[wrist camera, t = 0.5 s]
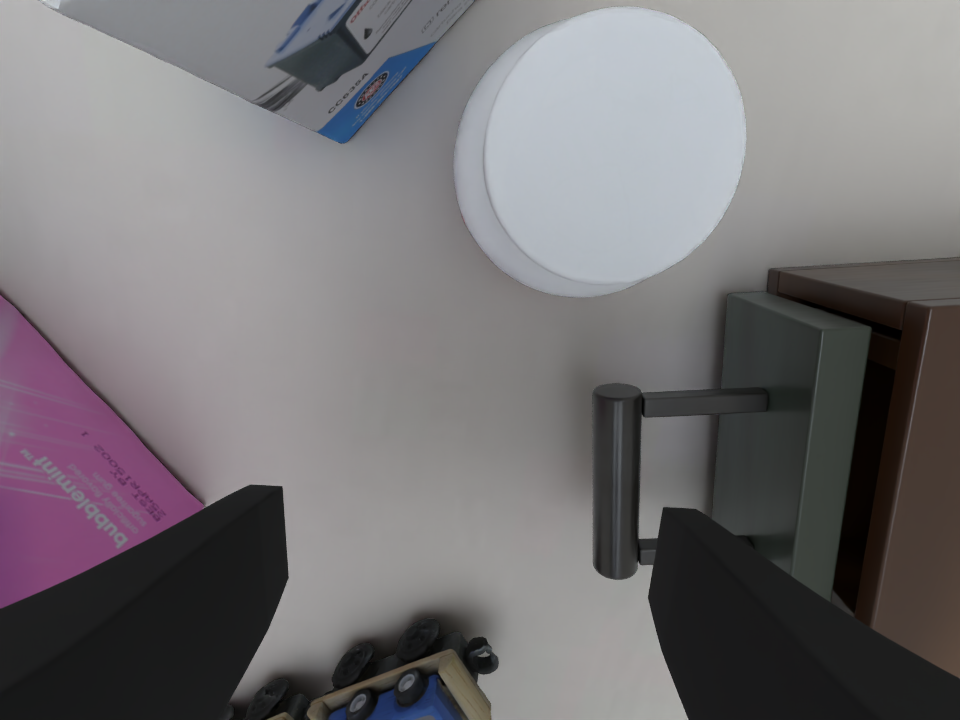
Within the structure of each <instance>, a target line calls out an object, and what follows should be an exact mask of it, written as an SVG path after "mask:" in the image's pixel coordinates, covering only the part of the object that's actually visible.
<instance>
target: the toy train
mask: <svg viewBox="0 0 960 720" xmlns="http://www.w3.org/2000/svg"><path fill="white" fill-rule="evenodd" d="M439 632H440V626H439V624H438V622H437V621H436V620H435V619H432V618H428V619H424V620H420V621H418V622H416V623H414V624H413V625H412V626H411V627H410V628H408V629H407V630H406V632H405V633H404V634H403V636H402V637H401V638H400V640H399V643H398V646H397V653H396V654H395V655H392V656H390V657H387V658H384V659H381V660H379V661H376V662H374V663H367V662H368V661H369V660H370V659H371V658H372V657H373V656H374V654H375V651H374V648H373V646H372V645H371V644H369V643H365V644H360V645H358V646H356V647H354V648H352V649H351V650H350V651H348V652H347V653H346V654H345V655H344V656H343V657H342V659H341V661H340V662H339V663H338V665H337V667H336V669H335V671H334V674H333V677H332V682H333V686H334V688H333V691H330V692H328V693H326V694H325V695H324V696H323V697H320V698H316V699H313V700H311V701H309V700H308V699H307V698H306V697H305V696H304V695H303V694H297V695H295V696H292V697H290V698H288V699H286V700H281V698H282V697H283V696H284V695H285V694H286V693H287V691H288V687H289V683H288V681H287V680H286V679H283V678H282V679H277V680H275V681H273V682H271V683H269V684H268V685H267V686H265V687H263V688H261V689H260V690H259V691H258V692H257V693H256V695H255V697H254V699H253V700H252V702H251V704H250V706H249V707H248V710H247V714H246V718H244V719H242V720H491V703H490V701H489V700H488V699H487V697H486V695H485V694H484V693H483V691H482V690H481V689H480V688H479V686H478V685H477V680H478V673H479V674H490V673H492V672H494V671H495V670H496V669H497V668H498V664H499V661H498V657H497V656H496V655H495V654H494V653H492V648H491V646H490V645H489V644H488V642H487V640H486V638H484V637H478V638H473V639H472V640H471V641H470V642H469V643H467V642H466V640H465V639H464V637H463V635H462V634H461V632H455V633H451V634H449V635H446V636H443V637H441V638H438V635H439ZM437 638H438V639H437ZM485 651H486V652H487V653H488V654H489V653H490V655H489V656H487V657H478V656H477V655H481V654H483V653H484V652H485ZM233 714H234V708H233V707H232V706H231V705H227V706H226V708H225V710H224V711H223V713H222V715H221V717H220V719H219V720H231V719H232V718H233Z"/></svg>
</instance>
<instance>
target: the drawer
mask: <svg viewBox="0 0 960 720" xmlns="http://www.w3.org/2000/svg"><path fill="white" fill-rule="evenodd" d="M901 335H902V330H899V329H896V328H892V327H889V326H886V325H883V324H880V323H876V322H873V321H870V320H867V319H864V318H860V317H857V316H854V315H851V314H848V313H844V312H841V311H838V310H835V309H832V308H812V307H809V306H806V305H803V304H800V303H797V302H794V301H791V300H788V299H785V298H782V297H779V296H776V295H772V294H769V293H766V292H763V291H761V292H743V293H730V294H728V299H727V313H726V327H725V342H724V356H723V370H722V384H721V389H707V390H687V391H667V392H647V393H642V392H641V390H640V389H639V388H637V387H635V386H632V385H628V384H620V383H612V384H604V385H600V386H598V387H596V388H595V389H594V390H593V392H592V468H593V566H594V568H595V569H596V571H597V572H598V573H599V574H601V575H602V576H604V577H607V578H610V579H615V580H622V579H627V578H630V577H631V576H633V575H634V574H635V573H636V571H637V569H638V561H639V563H640V565H654V559H655V553H656V547H657V541H658V538H652V539H639V503H640V464H641V426H642V415H643V417H645V418H650V417H671V416H691V415H712V414H719V426H718V441H717V455H716V469H715V483H714V497H713V511H712V520H714V521H715V522H717V523H718V524H720V525H721V526H722V527H724V528H725V529H727V530H728V531H730V532H731V533H732V534H734V535H735V536H736V537H738V538H739V539H741V540H742V541H743V542H745V543H746V544H747V545H749V546H750V547H752V548H753V549H754V550H756V551H757V552H758V553H760V554H761V555H763V556H764V557H765V558H767V559H768V560H770V561H771V562H772V563H774V564H775V565H777V566H778V567H779V568H781V569H782V570H784V571H785V572H786V573H788V574H789V575H791V576H792V577H794V578H795V579H796V580H798V581H799V582H801V583H802V584H804V585H805V586H807V587H808V588H810V589H811V590H813V591H814V592H816V593H817V594H819V595H820V596H822V597H823V598H825V599H826V600H828V601H829V602H831V603H832V604H834V605H835V606H837V607H839V608H840V609H842V610H843V611H845V612H846V613H848V614H849V615H851V616H852V617H854V615H855V609H856V603H857V597H858V591H859V585H860V579H861V573H862V567H863V561H864V555H865V549H866V543H867V537H868V531H869V525H870V519H871V513H872V508H873V502H874V496H875V490H876V484H877V478H878V472H879V466H880V460H881V454H882V448H883V442H884V436H885V430H886V424H887V418H888V412H889V406H890V400H891V394H892V388H893V383H894V377H895V371H896V365H897V359H898V353H899V347H900V341H901Z"/></svg>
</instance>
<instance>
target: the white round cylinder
mask: <svg viewBox="0 0 960 720" xmlns="http://www.w3.org/2000/svg"><path fill="white" fill-rule="evenodd" d="M745 150H746V117H745V112H744V106H743V101H742V97H741V93H740V90H739V88H738V85H737V82H736V80H735V77H734V75H733V73H732V72H731V70H730V68H729V66H728V65H727V63H726V62H725V60H724V58H723V57H722V55H721V54H720V52H719V51H718V50H717V49H716V48H715V47H714V45H713V44H712V43H711V42H710V41H709V40H708V39H707V38H706V37H705V36H703V35H702V34H701V33H700V32H699V31H697V30H696V29H694V28H693V27H691V26H690V25H688V24H686V23H685V22H683V21H682V20H680V19H678V18H676V17H673V16H671V15H669V14H667V13H664V12H660V11H656V10H652V9H647V8H641V7H623V6H622V7H607V8H602V9H597V10H593V11H590V12H587V13H584V14H581V15H578V16H575V17H573V18H570V19H564V20H561V21H558V22H555V23H552V24H549V25H546V26H543V27H541V28H539V29H537V30H535V31H533V32H531V33H529V34H528V35H526V36H525V37H523V38H521V39H520V40H519V41H517V42H516V43H515V44H513V45H512V46H511V47H509V48H508V49H507V50H506V51H505V52H504V53H503V54H502V55H500V56H499V58H498V59H497V60H496V61H495V62H494V63H493V64H492V65H491V66H490V67H489V68H488V70H487V71H486V72H485V74H484V75H483V76H482V78H481V79H480V81H479V82H478V84H477V86H476V87H475V89H474V91H473V92H472V94H471V96H470V98H469V100H468V103H467V105H466V107H465V109H464V112H463V114H462V117H461V120H460V124H459V127H458V132H457V136H456V142H455V149H454V169H453V171H454V184H455V191H456V197H457V202H458V205H459V208H460V211H461V215H462V218H463V220H464V223H465V225H466V227H467V228H468V230H469V231H470V233H471V235H472V237H473V238H474V240H475V241H476V243H477V244H478V245H479V247H480V248H481V249H482V251H483V252H484V253H485V254H486V255H487V256H488V258H489V259H490V260H491V261H492V262H493V263H494V264H495V265H496V266H497V267H498V268H500V269H501V270H502V271H503V272H505V273H506V274H507V275H509V276H510V277H512V278H513V279H515V280H516V281H518V282H520V283H522V284H524V285H526V286H528V287H530V288H533V289H535V290H538V291H541V292H544V293H548V294H552V295H557V296H565V297H595V296H603V295H607V294H611V293H615V292H618V291H621V290H624V289H627V288H629V287H631V286H634V285H636V284H638V283H640V282H642V281H644V280H646V279H647V278H649V277H651V276H653V275H656V274H658V273H660V272H662V271H665V270H667V269H668V268H670V267H672V266H673V265H675V264H676V263H678V262H679V261H681V260H683V259H684V258H685V257H687V256H688V255H689V254H690V253H691V252H693V251H694V250H695V249H696V248H697V247H698V246H699V245H700V244H701V243H703V242H704V241H705V240H706V238H707V237H708V236H709V235H710V233H711V232H712V231H713V230H714V229H715V227H716V226H717V224H718V223H719V221H720V220H721V219H722V217H723V216H724V214H725V212H726V210H727V208H728V206H729V204H730V202H731V200H732V198H733V196H734V194H735V191H736V188H737V186H738V183H739V180H740V176H741V172H742V168H743V163H744V158H745Z"/></svg>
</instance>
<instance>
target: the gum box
mask: <svg viewBox="0 0 960 720" xmlns="http://www.w3.org/2000/svg"><path fill="white" fill-rule="evenodd" d="M203 508H204V505H203V504H202V503H201V502H200V501H198V500H197V499H196V498H195V497H194V496H192V495H191V494H190V493H189V492H188V491H187V490H186V489H185V488H184V487H183V486H182V485H181V484H180V483H179V481H178V480H177V479H176V478H175V477H174V476H173V475H172V474H171V473H170V472H169V471H168V470H167V469H166V468H165V467H164V466H163V465H162V464H161V463H160V462H159V460H158V459H157V458H156V457H155V456H154V455H153V454H152V453H151V452H150V451H149V450H148V449H147V448H146V447H145V446H144V445H143V443H142V442H141V441H140V440H139V438H138V437H137V436H136V435H135V434H134V432H133V431H132V430H131V429H130V428H129V427H128V426H127V425H126V424H125V423H124V422H123V421H122V420H121V419H120V418H119V417H118V416H117V415H116V414H115V412H114V411H113V410H112V409H111V408H110V407H109V406H108V405H107V404H106V403H105V402H104V401H103V400H102V399H100V398H99V397H98V396H97V395H96V394H95V393H94V392H93V391H92V390H91V389H90V388H89V387H88V386H87V385H86V384H85V383H84V382H83V381H82V380H81V379H80V378H79V377H78V376H77V375H76V374H75V372H74V371H73V370H72V369H71V368H70V367H69V366H68V365H67V364H66V363H65V362H64V361H63V360H62V358H61V357H60V356H59V355H58V354H57V353H56V351H55V350H54V349H53V348H52V347H51V346H50V344H49V343H48V342H47V341H46V340H45V339H44V338H43V337H42V336H41V335H40V334H39V333H38V332H37V330H36V329H35V328H34V327H33V326H31V325H30V324H29V322H28V321H27V320H26V319H25V318H24V317H23V316H22V315H21V314H20V312H19V311H18V310H17V309H16V308H15V307H14V306H13V305H11V304H10V303H9V302H8V301H6V300H5V299H4V298H3V297H2V296H1V295H0V609H1V608H3V607H5V606H8V605H10V604H13V603H15V602H17V601H20V600H22V599H24V598H27V597H29V596H31V595H34V594H36V593H38V592H41V591H43V590H45V589H48V588H50V587H52V586H54V585H56V584H59V583H61V582H63V581H65V580H67V579H70V578H72V577H74V576H76V575H78V574H80V573H82V572H84V571H86V570H88V569H90V568H92V567H94V566H96V565H98V564H100V563H102V562H104V561H106V560H108V559H110V558H112V557H114V556H116V555H118V554H120V553H122V552H124V551H126V550H128V549H130V548H132V547H134V546H136V545H138V544H140V543H142V542H144V541H146V540H148V539H149V538H151V537H153V536H155V535H157V534H159V533H160V532H162V531H164V530H166V529H168V528H170V527H171V526H173V525H175V524H177V523H179V522H180V521H182V520H184V519H186V518H188V517H190V516H191V515H193V514H195V513H197V512H199V511H200V510H202V509H203Z"/></svg>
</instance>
